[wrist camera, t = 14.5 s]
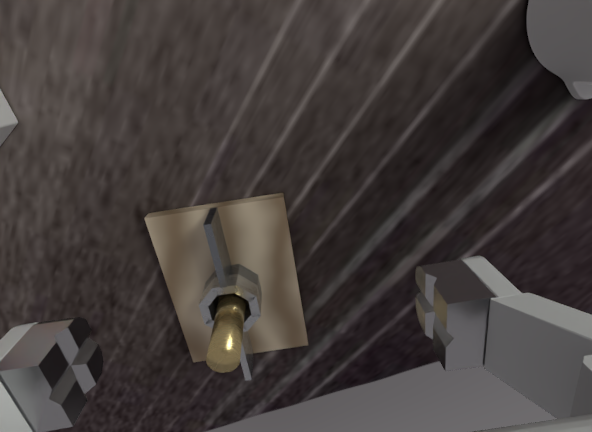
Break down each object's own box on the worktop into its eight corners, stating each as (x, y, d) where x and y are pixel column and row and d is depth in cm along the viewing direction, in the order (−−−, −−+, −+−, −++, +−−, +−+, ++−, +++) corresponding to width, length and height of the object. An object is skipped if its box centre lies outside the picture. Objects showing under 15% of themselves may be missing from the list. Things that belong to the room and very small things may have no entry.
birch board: (283, 192, 43) (283, 197, 42) (307, 337, 52) (308, 345, 50) (148, 213, 43) (144, 218, 42) (195, 354, 52) (193, 362, 51)
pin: (244, 274, 45) (235, 344, 34) (249, 295, 47) (243, 369, 36) (218, 278, 45) (202, 350, 34) (224, 299, 47) (210, 375, 36)
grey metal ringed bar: (242, 203, 42) (238, 219, 38) (274, 350, 51) (274, 376, 46) (185, 212, 42) (175, 229, 38) (227, 357, 51) (222, 384, 46)
